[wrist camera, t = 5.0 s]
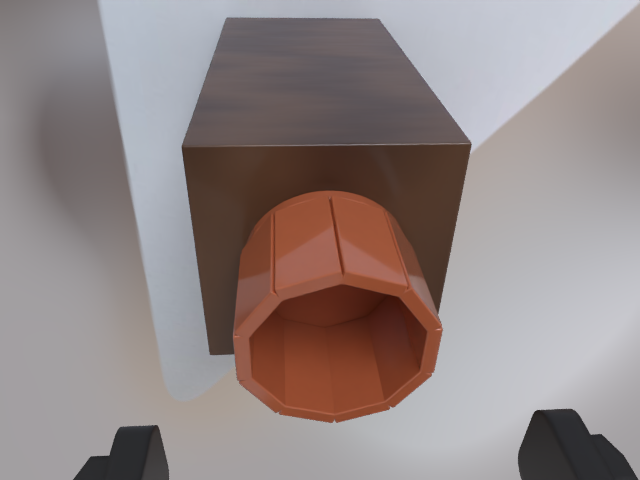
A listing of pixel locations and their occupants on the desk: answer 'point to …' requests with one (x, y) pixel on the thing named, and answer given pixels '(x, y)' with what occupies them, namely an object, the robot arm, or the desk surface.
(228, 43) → the dark brown block
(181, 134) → the desk surface
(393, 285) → the faceted orange cup
